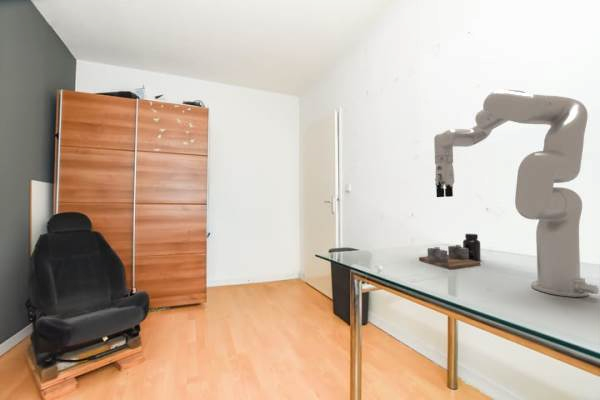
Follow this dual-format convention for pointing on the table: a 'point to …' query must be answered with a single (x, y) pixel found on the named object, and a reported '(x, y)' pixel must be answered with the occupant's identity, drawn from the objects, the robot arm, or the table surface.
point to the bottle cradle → (450, 257)
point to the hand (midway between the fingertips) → (444, 196)
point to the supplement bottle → (472, 246)
